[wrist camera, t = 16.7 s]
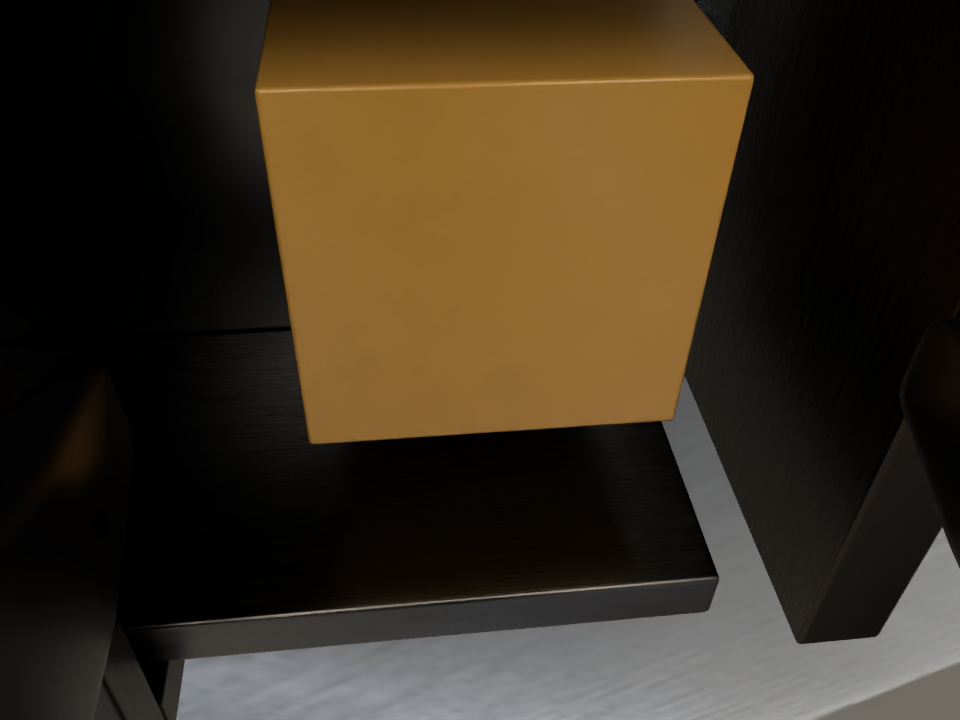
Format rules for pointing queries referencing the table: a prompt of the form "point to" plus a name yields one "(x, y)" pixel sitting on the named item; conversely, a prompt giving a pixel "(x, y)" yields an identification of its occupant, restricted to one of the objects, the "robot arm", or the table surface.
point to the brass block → (494, 206)
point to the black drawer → (497, 455)
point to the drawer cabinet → (126, 660)
